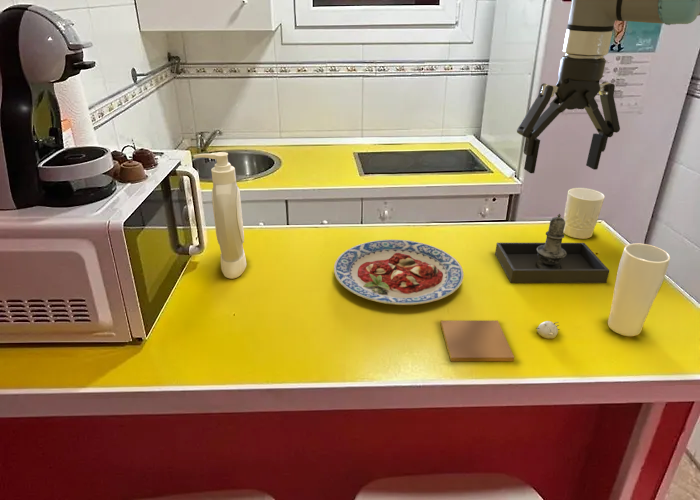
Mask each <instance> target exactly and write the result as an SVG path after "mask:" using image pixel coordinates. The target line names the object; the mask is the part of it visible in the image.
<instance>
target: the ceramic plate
mask: <svg viewBox="0 0 700 500" xmlns="http://www.w3.org/2000/svg"><path fill="white" fill-rule="evenodd" d="M333 273H334V276H335V278H336V280H337V281H338V283H339V284H340V285H341V286H342V287H343V288H345V290H347V291H349V292H350V293H352V294H354V295H355V296H358V297H359V298H363V299H366V300H369V301H373V302H376V303H380V304H386V305H397V306H414V305H415V306H416V305H423V304H428V303H433V302H436V301H440V300H443V299H445V298H446V297H448V296H450V295H452V294H453V293H455V292H456V291H458V289H459V288H460V287H461V285H462V283H463V282H464V281H463V280H464V276H465V275H464V274H465V273H464V269H463V267H462V265H461V264H460V263H459V261H458V260H457V258H455V257H454V256H452V255H451V254H450V253H448V252H446V251H445V250H443V249H441V248H439V247H436V246H433V245H430V244H427V243H423V242H418V241H414V240H407V239H377V240H372V241H367V242H363V243H360V244H359V243H358V244H356V245H354V246H352V247H350V248H348V249H346V250H344V252H342V253H341V254H340V255H339V256H338V257H337V259H336V260H335V261H334V264H333Z"/></svg>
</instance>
